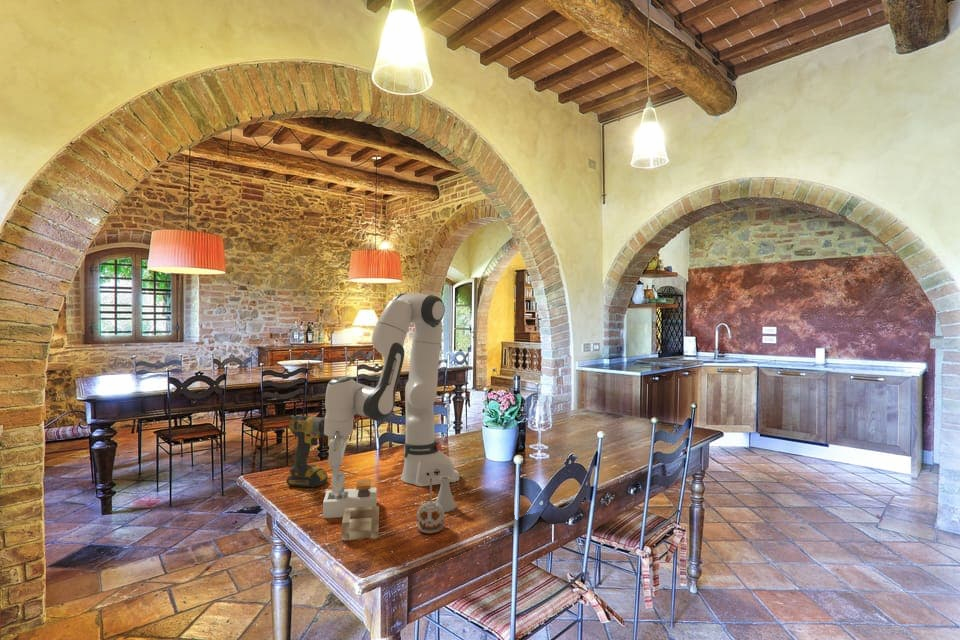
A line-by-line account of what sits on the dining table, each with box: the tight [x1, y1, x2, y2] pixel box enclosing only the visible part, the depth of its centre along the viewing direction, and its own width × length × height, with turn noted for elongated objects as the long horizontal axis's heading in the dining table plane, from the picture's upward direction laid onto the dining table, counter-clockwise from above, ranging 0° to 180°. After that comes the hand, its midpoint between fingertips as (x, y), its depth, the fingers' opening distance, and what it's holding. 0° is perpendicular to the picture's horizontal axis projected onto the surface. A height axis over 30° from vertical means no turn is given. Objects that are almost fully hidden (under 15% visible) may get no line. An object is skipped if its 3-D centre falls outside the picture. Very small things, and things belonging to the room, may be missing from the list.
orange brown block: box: [355, 478, 372, 497], centre depth 153 cm, size 4×6×7 cm
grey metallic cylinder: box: [331, 471, 346, 499], centre depth 151 cm, size 4×4×12 cm
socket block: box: [322, 486, 378, 519], centre depth 152 cm, size 16×10×5 cm, turn 101°
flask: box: [435, 476, 457, 513], centre depth 154 cm, size 7×7×10 cm
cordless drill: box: [286, 414, 328, 488], centre depth 174 cm, size 9×20×25 cm, turn 78°
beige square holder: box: [341, 505, 380, 541], centre depth 137 cm, size 10×10×5 cm
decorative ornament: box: [416, 478, 445, 534], centre depth 139 cm, size 8×8×15 cm
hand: (337, 471), depth 151 cm, fingers open, 8 cm apart
